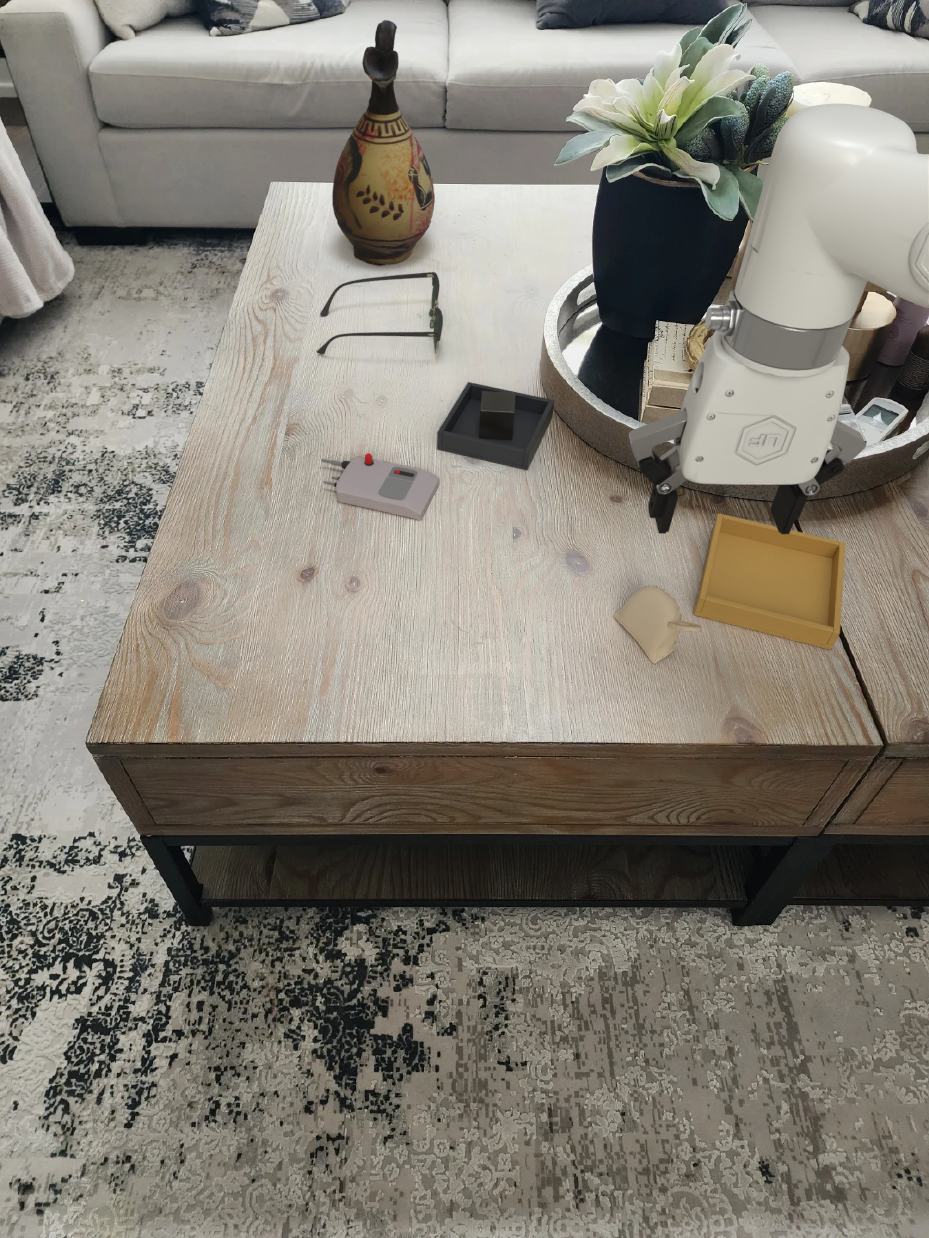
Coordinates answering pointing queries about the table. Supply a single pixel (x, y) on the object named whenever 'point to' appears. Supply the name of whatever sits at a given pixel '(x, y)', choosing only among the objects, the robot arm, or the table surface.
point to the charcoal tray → (519, 452)
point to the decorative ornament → (654, 621)
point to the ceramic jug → (383, 169)
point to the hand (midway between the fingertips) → (719, 522)
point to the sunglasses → (433, 324)
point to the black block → (497, 415)
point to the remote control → (385, 486)
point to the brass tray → (773, 581)
